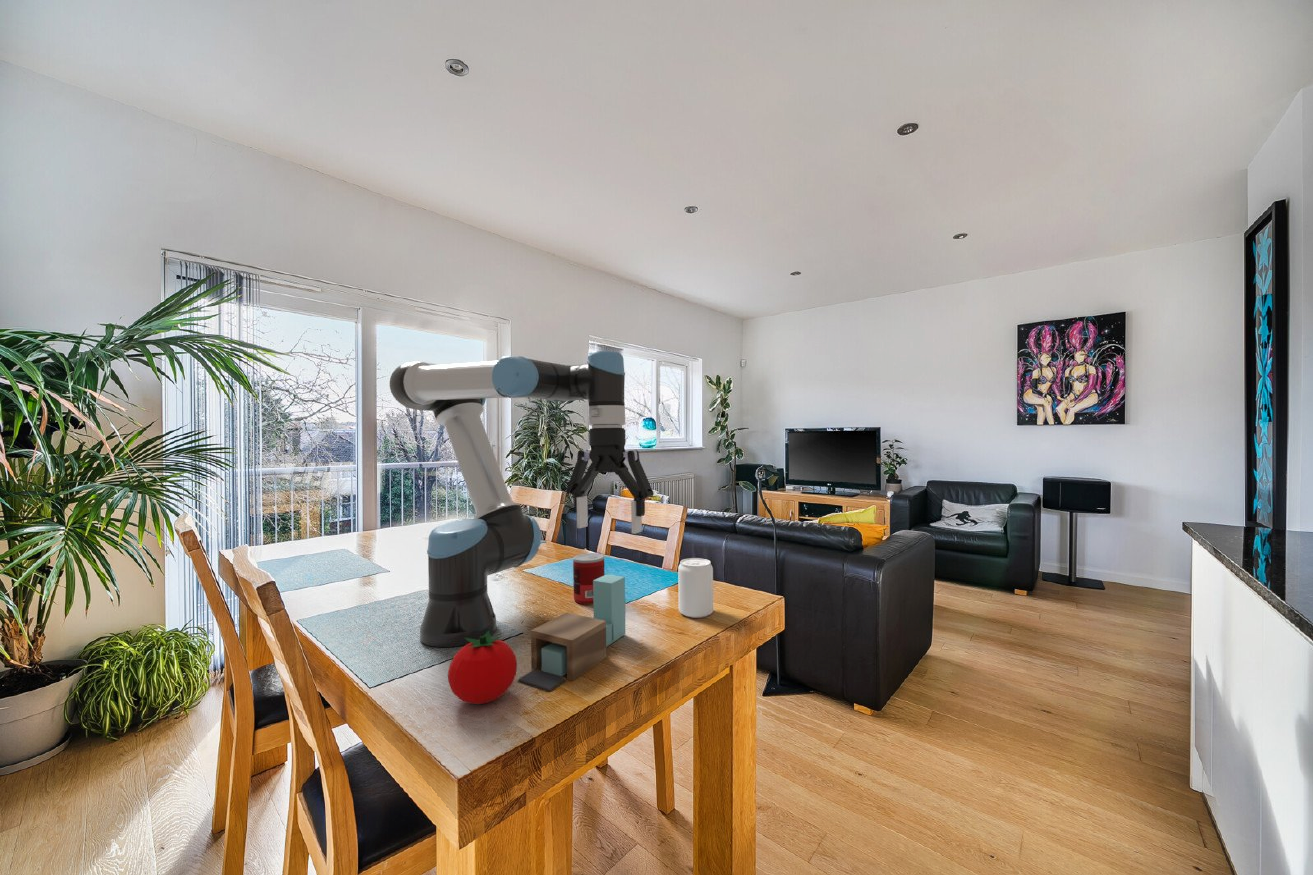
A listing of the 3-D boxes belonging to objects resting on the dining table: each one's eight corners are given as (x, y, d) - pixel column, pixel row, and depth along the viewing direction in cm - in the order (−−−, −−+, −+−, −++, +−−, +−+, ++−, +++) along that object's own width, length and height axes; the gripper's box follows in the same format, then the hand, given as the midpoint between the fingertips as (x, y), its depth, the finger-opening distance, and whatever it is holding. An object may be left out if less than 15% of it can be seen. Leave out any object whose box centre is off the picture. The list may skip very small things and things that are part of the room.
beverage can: (711, 620, 111) (711, 567, 111) (676, 618, 113) (675, 565, 113) (714, 607, 119) (714, 558, 119) (681, 605, 121) (680, 556, 121)
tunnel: (531, 668, 89) (531, 630, 89) (567, 647, 98) (566, 612, 98) (572, 681, 84) (572, 640, 84) (606, 657, 93) (605, 620, 93)
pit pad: (518, 681, 84) (518, 679, 84) (534, 671, 88) (534, 669, 88) (549, 691, 81) (549, 689, 81) (565, 680, 85) (565, 678, 85)
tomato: (437, 719, 74) (436, 652, 73) (461, 683, 84) (460, 625, 84) (508, 716, 74) (507, 649, 74) (523, 681, 85) (522, 623, 84)
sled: (541, 670, 88) (540, 603, 88) (607, 630, 106) (607, 574, 106) (561, 676, 86) (560, 607, 85) (625, 634, 103) (624, 576, 103)
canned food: (610, 597, 127) (610, 555, 127) (590, 606, 121) (590, 562, 120) (587, 592, 131) (587, 551, 131) (567, 601, 125) (566, 558, 125)
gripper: (548, 428, 105) (550, 528, 105) (650, 425, 93) (652, 538, 93) (571, 428, 111) (572, 522, 111) (668, 425, 99) (670, 531, 99)
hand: (608, 529), depth 102 cm, fingers open, 13 cm apart
